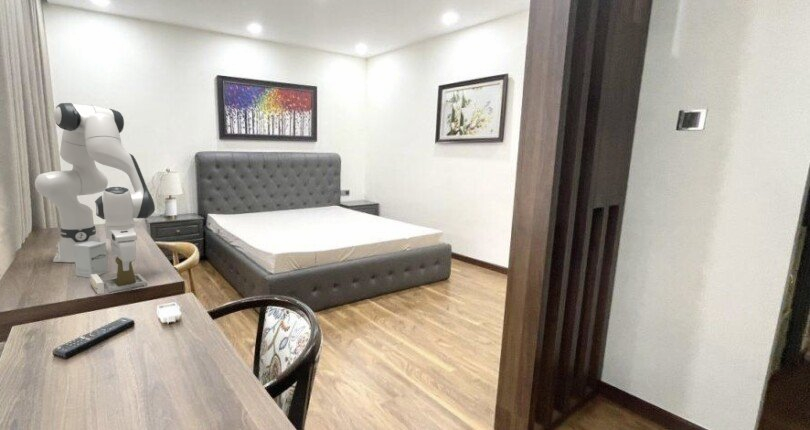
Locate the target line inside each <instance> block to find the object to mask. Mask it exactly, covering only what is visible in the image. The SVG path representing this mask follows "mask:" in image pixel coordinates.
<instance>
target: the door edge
mask: <svg viewBox="0 0 810 430" xmlns="http://www.w3.org/2000/svg"><path fill="white" fill-rule="evenodd" d="M89 282H90V283H91V286H92V287H93V289H94V290H95V292H96V293H97V295H101V294H105V286H104V285H103V279H101V277H100V275H97V274H92V275H91V278H89Z"/></svg>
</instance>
